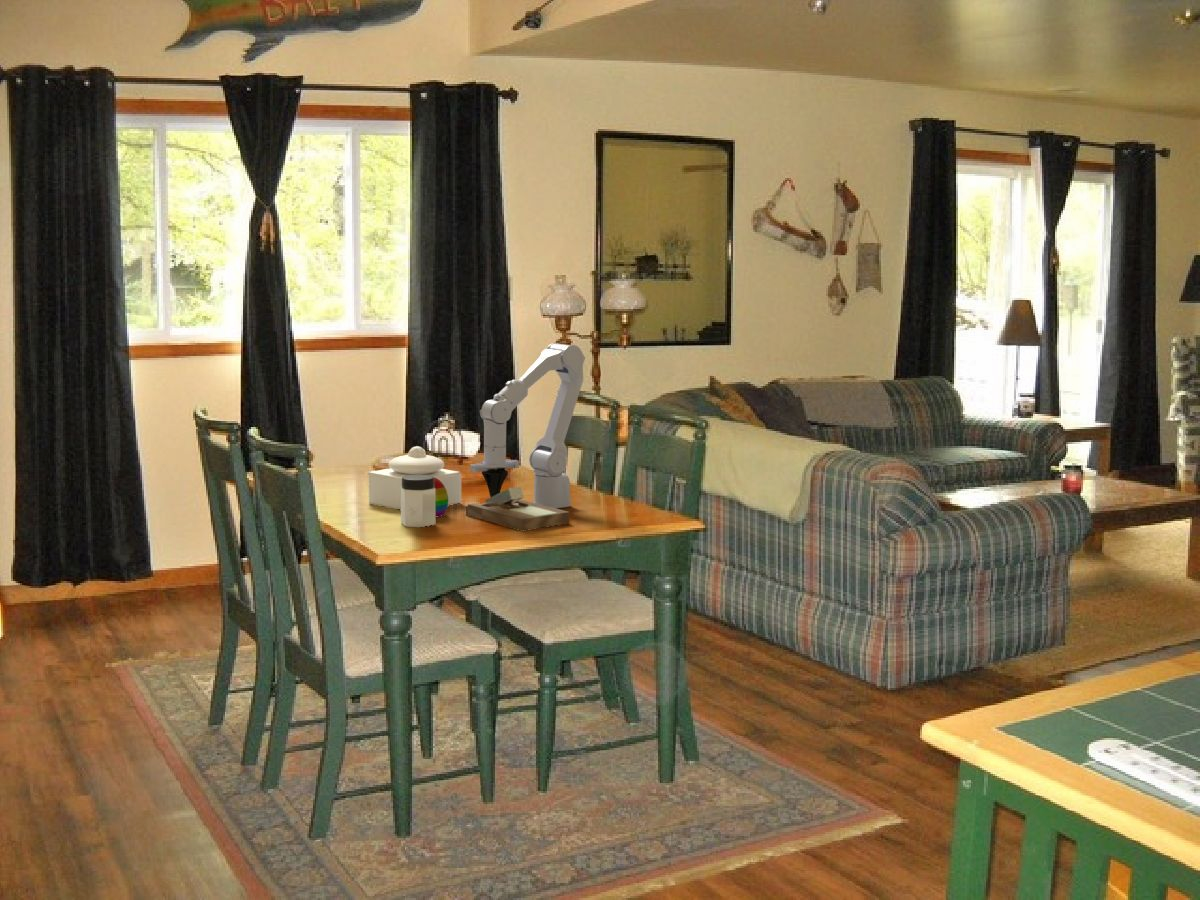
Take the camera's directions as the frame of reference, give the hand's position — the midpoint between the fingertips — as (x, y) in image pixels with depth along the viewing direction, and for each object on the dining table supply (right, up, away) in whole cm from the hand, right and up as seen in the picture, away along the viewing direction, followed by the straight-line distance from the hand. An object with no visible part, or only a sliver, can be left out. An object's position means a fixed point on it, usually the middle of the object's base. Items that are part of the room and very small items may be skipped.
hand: (494, 497), depth 348 cm
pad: (+11, -3, -12) cm, 16 cm away
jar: (-18, -6, -14) cm, 24 cm away
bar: (+3, -2, -3) cm, 5 cm away
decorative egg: (-16, -5, -3) cm, 17 cm away
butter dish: (-22, -3, +11) cm, 25 cm away
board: (+6, -5, -6) cm, 10 cm away
